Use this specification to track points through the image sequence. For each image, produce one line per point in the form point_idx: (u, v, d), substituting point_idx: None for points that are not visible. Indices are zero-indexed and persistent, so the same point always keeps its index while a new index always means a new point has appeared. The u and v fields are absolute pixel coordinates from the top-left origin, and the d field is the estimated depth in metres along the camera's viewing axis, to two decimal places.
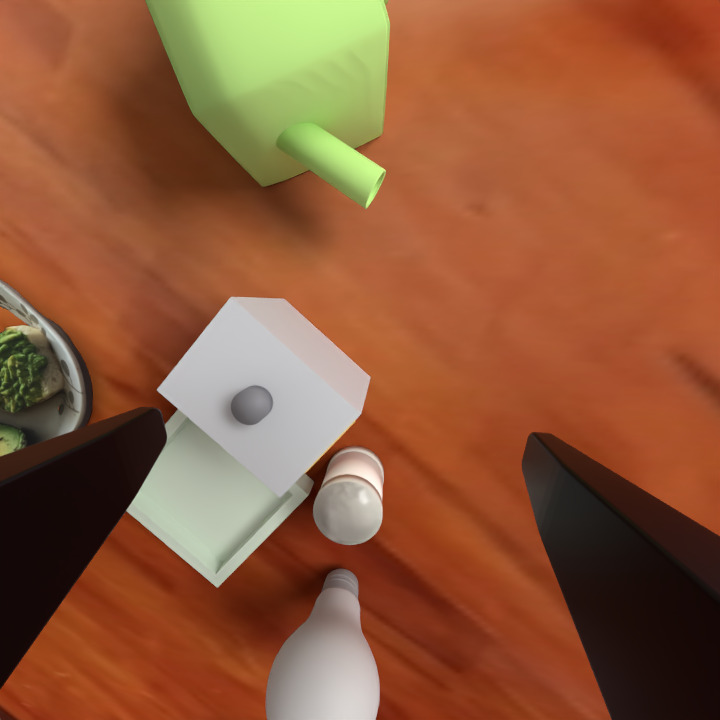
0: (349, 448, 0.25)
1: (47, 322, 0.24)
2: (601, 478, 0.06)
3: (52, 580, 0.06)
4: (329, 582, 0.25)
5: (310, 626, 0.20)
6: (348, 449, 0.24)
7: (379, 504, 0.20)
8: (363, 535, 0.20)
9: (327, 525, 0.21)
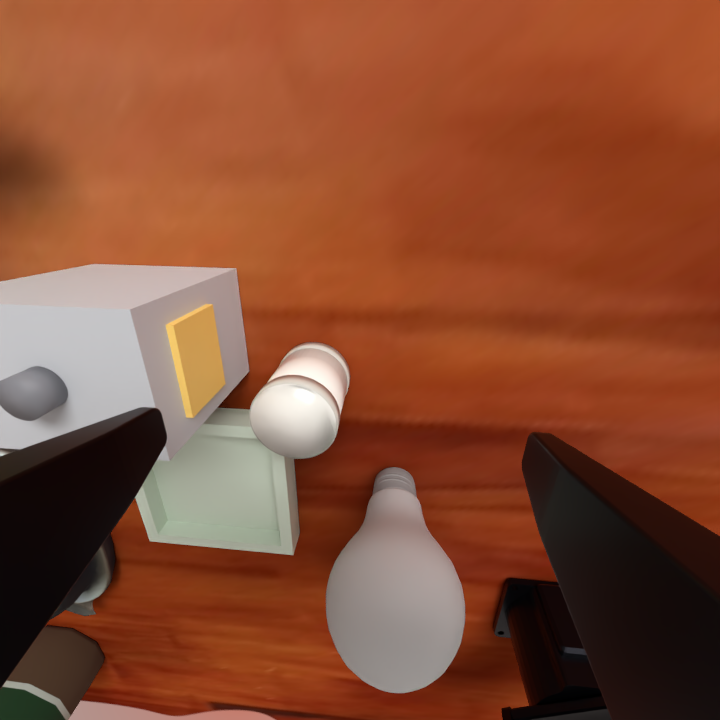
0: None
1: None
2: (601, 478, 0.06)
3: (52, 580, 0.06)
4: (373, 490, 0.21)
5: (342, 550, 0.16)
6: None
7: (311, 389, 0.15)
8: (328, 432, 0.16)
9: (288, 447, 0.16)
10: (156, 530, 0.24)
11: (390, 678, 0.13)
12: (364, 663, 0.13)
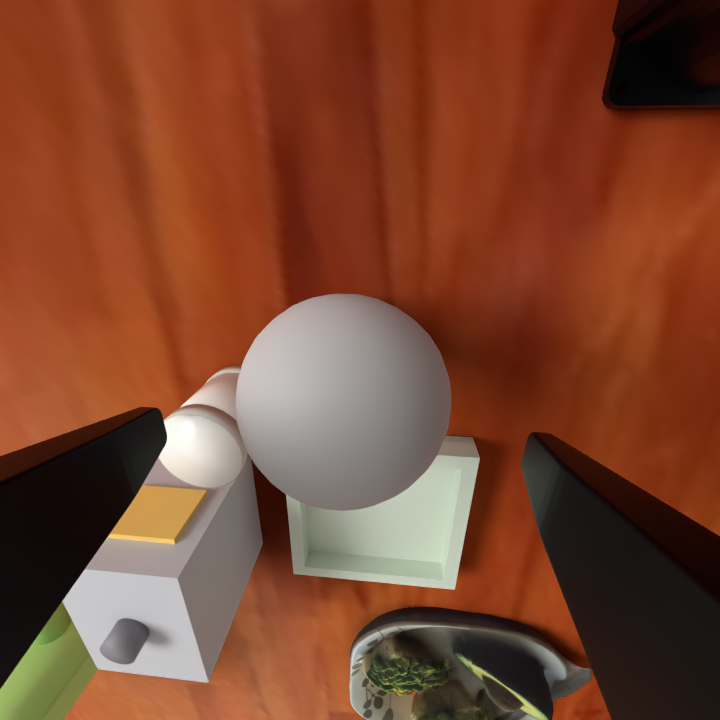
0: None
1: None
2: (601, 478, 0.06)
3: (53, 580, 0.06)
4: None
5: None
6: None
7: None
8: (200, 422, 0.15)
9: (230, 460, 0.15)
10: (437, 579, 0.22)
11: (311, 471, 0.08)
12: (306, 496, 0.08)
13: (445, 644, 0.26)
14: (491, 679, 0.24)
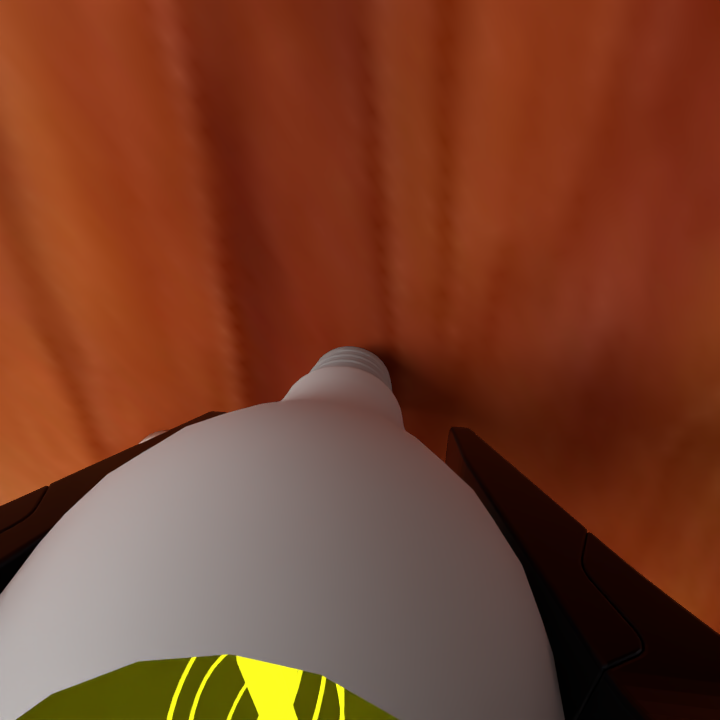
0: None
1: None
2: (495, 470, 0.06)
3: None
4: None
5: None
6: None
7: None
8: None
9: None
10: None
11: None
12: None
13: None
14: None
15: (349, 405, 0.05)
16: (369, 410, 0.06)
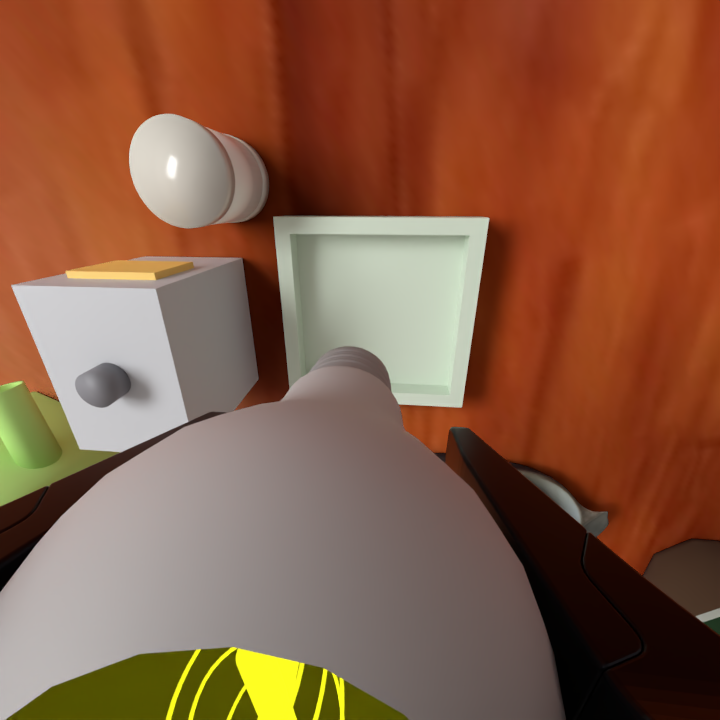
0: None
1: None
2: (495, 470, 0.06)
3: None
4: None
5: None
6: None
7: (131, 148, 0.14)
8: (177, 126, 0.13)
9: (212, 183, 0.14)
10: (443, 395, 0.21)
11: None
12: None
13: None
14: None
15: (349, 405, 0.05)
16: (369, 410, 0.06)
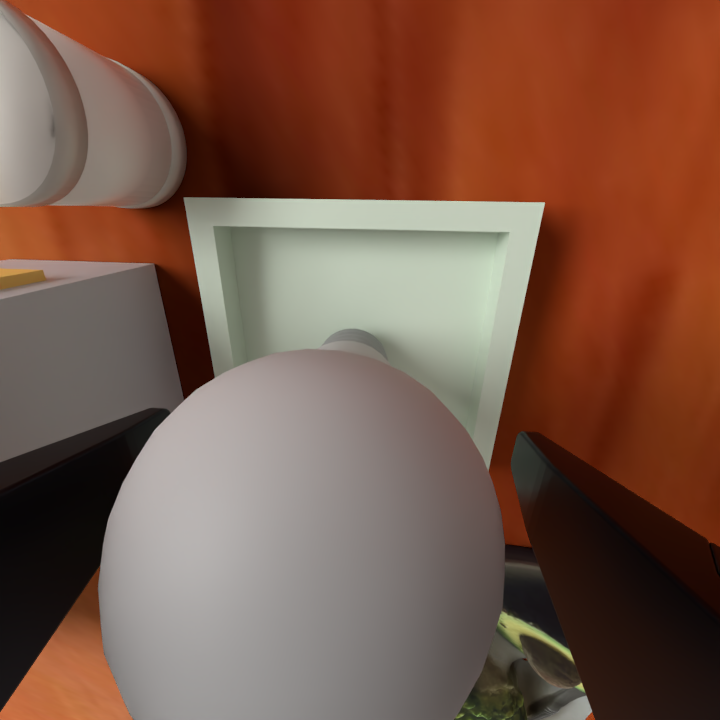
0: None
1: None
2: (586, 477, 0.06)
3: (65, 582, 0.06)
4: None
5: None
6: None
7: None
8: None
9: (27, 114, 0.07)
10: None
11: None
12: None
13: None
14: (536, 639, 0.16)
15: None
16: None
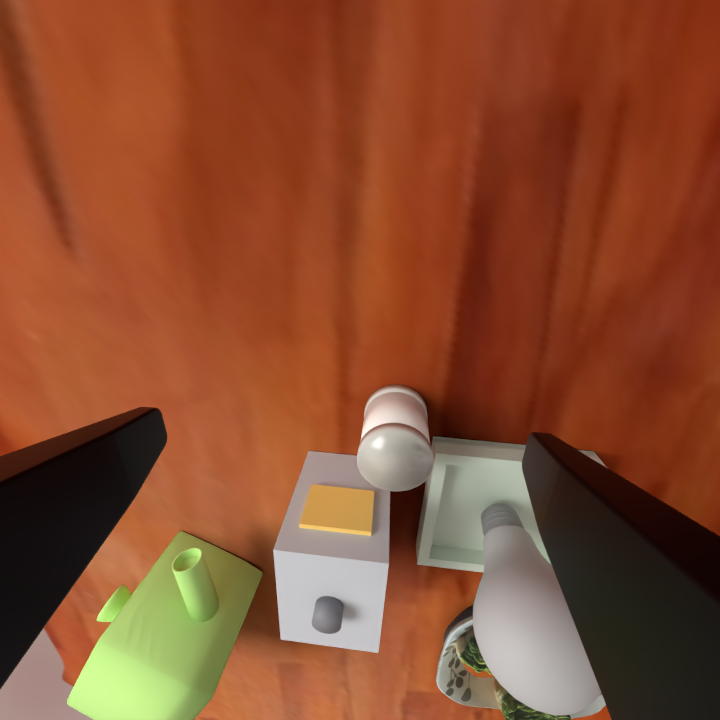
0: None
1: (444, 641, 0.31)
2: (601, 478, 0.06)
3: (52, 580, 0.06)
4: None
5: None
6: None
7: (362, 446, 0.18)
8: (402, 439, 0.18)
9: (420, 469, 0.19)
10: None
11: (552, 706, 0.15)
12: (537, 710, 0.16)
13: None
14: None
15: (543, 562, 0.19)
16: (544, 560, 0.19)
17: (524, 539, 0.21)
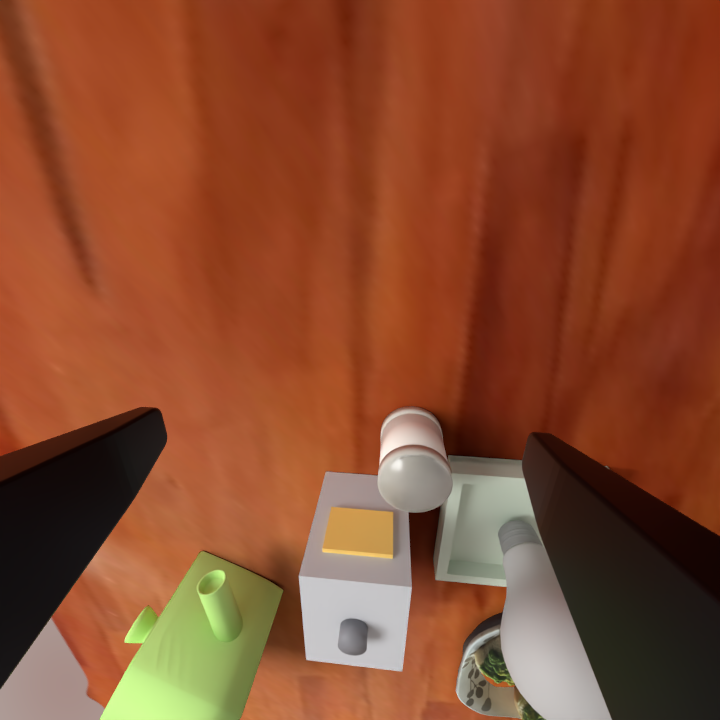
0: None
1: (463, 653, 0.32)
2: (601, 478, 0.06)
3: (52, 580, 0.06)
4: None
5: None
6: None
7: (382, 470, 0.19)
8: (421, 460, 0.18)
9: (440, 489, 0.19)
10: None
11: None
12: None
13: None
14: None
15: None
16: None
17: (544, 558, 0.21)
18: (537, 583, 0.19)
